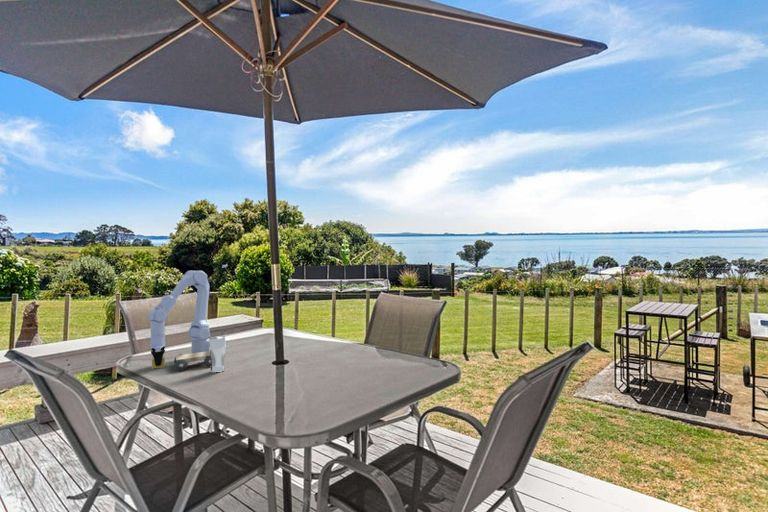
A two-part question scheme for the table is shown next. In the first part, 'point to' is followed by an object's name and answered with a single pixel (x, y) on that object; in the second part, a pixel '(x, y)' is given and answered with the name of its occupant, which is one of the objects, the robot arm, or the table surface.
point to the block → (160, 365)
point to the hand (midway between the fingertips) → (158, 364)
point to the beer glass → (217, 353)
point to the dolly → (191, 359)
